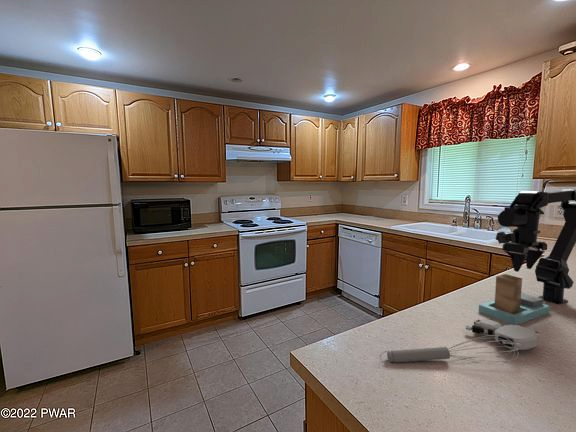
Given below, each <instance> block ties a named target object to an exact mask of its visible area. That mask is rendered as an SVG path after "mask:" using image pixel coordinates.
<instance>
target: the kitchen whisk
mask: <svg viewBox="0 0 576 432" xmlns="http://www.w3.org/2000/svg"><path fill="white" fill-rule="evenodd" d="M490 336H499V335H489V336H488V337H490ZM502 337H503V336H502ZM504 338H506V337H504ZM483 339H487V336H484V335H482V337H481V336H479V337H475V338H471V339H468V340H466V341H465V340H464V341H463V342H460V343H458V344H456V345H453V346H451V347H449V348H448V347H447V346H439V347H427V348H412V349H400V350H399V349H398V350H385V351H384V352H382V353H381V354H380V355H379V359H380V360H381V362H383V363H385V361H384V360H383V359H381V356H382V355H383V354H384V353H386V356H387V360H388V361H389V363H394V364H395V363H409V362H421V361H422V362H423V361H435V360H447V359H448V360H450V358H455V359H458V360H461V361H465V362H466V361H467V362H471V363H472V362H473V363H477V364H478V363H480V364H481V363H483V362H485V360H484V359H483V360H482V359H478V361H476V358H477V357H476V356H469V357H465V355H458V357H457V355H456V354H457V352H458V351H460V349H461V351H465V350H466V351H467V350H468V348H466V347H469V350H474V349H476V347H472V348H470V346H476V345H482V344H486V343H492V342H495V340H491V341H485V342H480V343H479V342H478V343H475V344H474V343H473V344H469V345H465V346H461V345H463V344H466V343H469V342H470V343H471V342H474V341H478V340H483ZM496 339H499V338H496ZM507 339H508V338H507ZM508 340H509V339H508ZM508 340H503V339H501V340H499V341H506V342H508ZM509 341H510V340H509ZM510 342H511V343H512V341H510ZM510 342H508V343H510ZM511 343H510V344H511ZM513 343H514V342H513ZM514 344H515V343H514ZM511 345H512V346H513V344H511ZM457 346H461V347H457ZM455 347H457V348H455ZM497 347H498V348H507V347H506V346H504V345H502V346H501V345H499V346H495V345H494V346H492V348H497ZM463 348H464V349H463ZM483 348H484V349H485V348H487V346H481V347H478V349H483ZM511 348H515V345H514V346H513V347H511ZM515 349H516V350H515ZM515 349H513V350H505V351H504V350H503V351H500V353H504V352H505V354H502V355H498V356H496V358H499V357H504V356H507V355H509V354H511V353H512V352H513V355H512V357H511V359H509V360H488V362H494V363H501V362H502V364H504V363H508V362H510V361H515V360H516V359H517V358H519V354H520V353H519V350H518V348H515ZM453 351H454V352H453ZM506 352H507V353H506ZM516 352H517V357H515V356H516ZM488 353H489V354H490V353H491V354H493V353H495V351H486V352H484V351H483V352H482V351H479V352H477V354H488ZM454 354H455V355H454ZM514 357H515V358H514ZM472 360H473V361H472Z"/></svg>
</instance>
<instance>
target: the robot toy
mask: <svg viewBox="0 0 576 432" xmlns="http://www.w3.org/2000/svg"><path fill="white" fill-rule="evenodd" d="M465 330H467V331H472V332H471V333H473V334H479V335H480V334H481V335H482V336H486V337H489V338H494V341H495V342H497V343H498V344H500V346H501V345H502V346H506V347H505V348H507V349H509V350H510V351H512V350H513V349H515V348H518V350H517V351H524V350H525V351H527V350H530V349H533V348H535V347H536V346H537V345H538V344H539V335H538V334H544V332H543V331H535V330H533V329H532V328H528V327H524V326H521V325H519V324H518V325H512V324H506V325H502V324H501V323H499V322H497V321H496V320H494V319H492V318H483V319H477V320H474V322H473V325H465ZM489 335H499V336H489ZM502 336H503V337H502ZM504 337H506V338H504ZM496 338H499V339H496ZM507 338H508V339H509V340H510V341H512V343H511V342H510V341H509V340H508V339H507ZM501 339H503V340H508V342H510V343H511V344H513V346H514V345H515V348H511V347H513V346H512V345H511V344H510V343H508V342H506V341H499V340H501ZM513 342H514V343H515V344H514V343H513ZM515 350H516V349H515Z"/></svg>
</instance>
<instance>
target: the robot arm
mask: <svg viewBox="0 0 576 432" xmlns="http://www.w3.org/2000/svg"><path fill="white" fill-rule="evenodd" d="M517 193H518V194H517V195H516V196H515V198H514V199H513V201H512V202H511V204H509V206H505V207H504V210H502V211H500V213H499V214H498V216H497V222H498V224H499V225H500V226H502V227H503V228H504V227H505V228H506V227H507V228H510V227H511V228H514V229H512V232H511V233H506V232H505V231H498V232H496V235H495V238H494V239H495V240H496V241H498V244H499V245H500V244H502V247H501V248H502V250H501V251H504V252H505V253H506V254H507V255H509V257H510V260H511V263H512V264H511V265H512V267H513V271H514V272H517V273H518V272H520V269H521V268H522V266H523V264H524V263H526V264H525V265H526V269H528V270H532V268H533V267H534V265H535V264H536V263H537V264H536V265H535V269H534V273H535V278H536V282H540V283H543V286H542V295H539V296H537V297H538V298H541V299H543V301H546V302H549V303H552V304H557V305H562V304H564V303H567V302H568V301H569V300H568V299H565V298H564V297H565V289H568V290H569V289H571V288H572V287H573V285H574V280H573V279H572V277H570V274H569V272H570V269H569V265H568V259H569V258H570V256H571V253H572V251H573V249H574V248H575V245H576V189H562V190H555V191H553V190H552V191H532V190H531V191H528V190H527V191H523V190H522V191H519V192H517ZM552 203H553V204H555V203H560V208H561V209H562V210H563V214H562V216H563V218H564V224H563V226H562V228H561V230H560V232H559V234H558V236H557V238H556V241H555V243H554V245H553V247H552V249H551V251H550V254H549V255H548V256H547V257H542V255H543V254H544V253H545V252H546V251H547V250H548V244H547V243H546V241H539V240H538V234H541V230H539V225H540V217H541V215H544V214H545V212H544V211H543V210H542V209H541V208H544V207H547V206H548V204H552ZM537 261H538V262H537Z"/></svg>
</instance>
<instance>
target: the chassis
mask: <svg viewBox="0 0 576 432" xmlns="http://www.w3.org/2000/svg"><path fill="white" fill-rule="evenodd" d="M538 297H539V296H534V295H531V294H528V293H523V292H521V303H520V313H517V314H514V315H513V314H511V313H508V312H505V311H502V310H499V309H496V308H494V306H495V299H494V300H491V301H487V302H482V303H479V304H478V312H479V313H480V314H484V315H487V316H489V317H491V318H494V319H497V320H499V321H502V322H504V323H506V324H507V323H508V325H518V326H519V325H520V324H522V323H523V324H524V323H525V322H529V321H531V320H534V319H536V318H539V317H543V316H544V315H545V316H546V315H547V314H550V312H551V311H550V309H551V308H550V307H551V306H550V305H549V304H545V303H544V300H543V299H541V298H538Z"/></svg>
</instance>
